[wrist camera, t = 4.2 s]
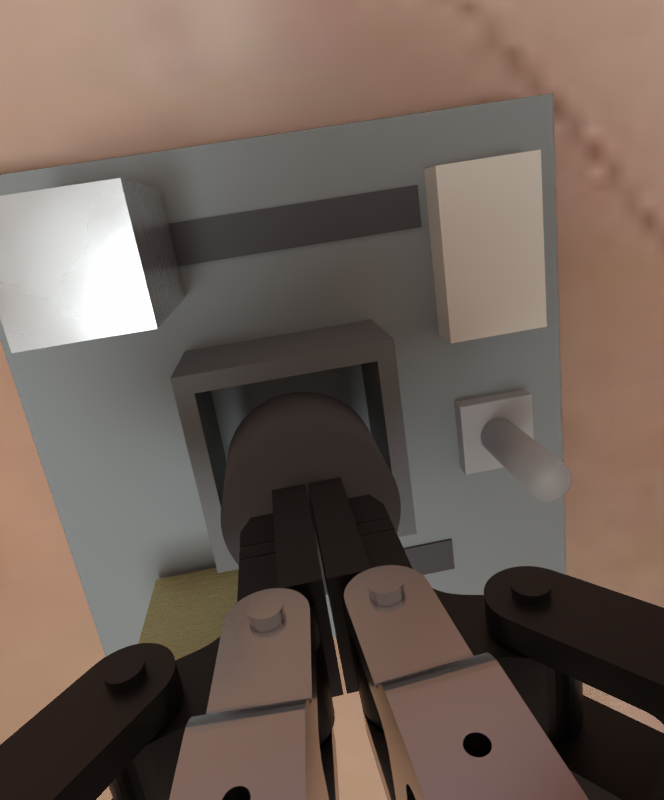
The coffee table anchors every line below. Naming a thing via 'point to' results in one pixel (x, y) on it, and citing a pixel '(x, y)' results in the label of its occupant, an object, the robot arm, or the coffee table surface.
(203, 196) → the control board
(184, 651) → the gold rectangular block
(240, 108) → the coffee table surface
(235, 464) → the black button
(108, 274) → the light grey block
